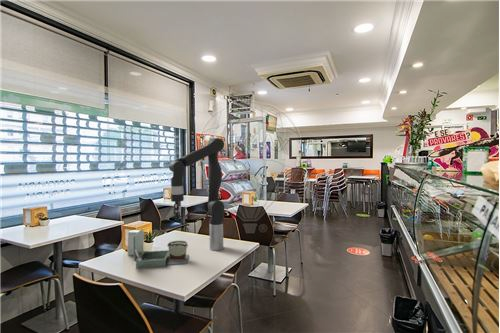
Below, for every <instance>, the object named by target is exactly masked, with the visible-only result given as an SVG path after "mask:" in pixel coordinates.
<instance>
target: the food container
mask: <svg viewBox="0 0 500 333" xmlns="http://www.w3.org/2000/svg"><path fill="white" fill-rule="evenodd" d="M167 247H168V250H169V256H170V258H169V259H170V260H186V255H187V248H188V242H187V241H186V240H173V241H169V242H168V243H167Z"/></svg>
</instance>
